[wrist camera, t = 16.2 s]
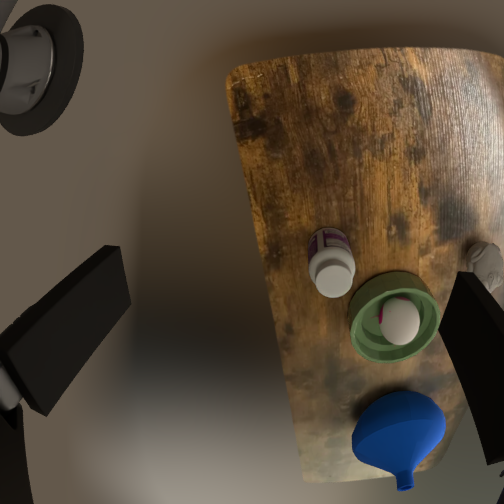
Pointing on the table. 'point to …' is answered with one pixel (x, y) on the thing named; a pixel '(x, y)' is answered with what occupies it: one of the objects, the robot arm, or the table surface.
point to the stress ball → (399, 320)
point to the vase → (398, 434)
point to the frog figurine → (486, 264)
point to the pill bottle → (330, 262)
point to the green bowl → (369, 305)
